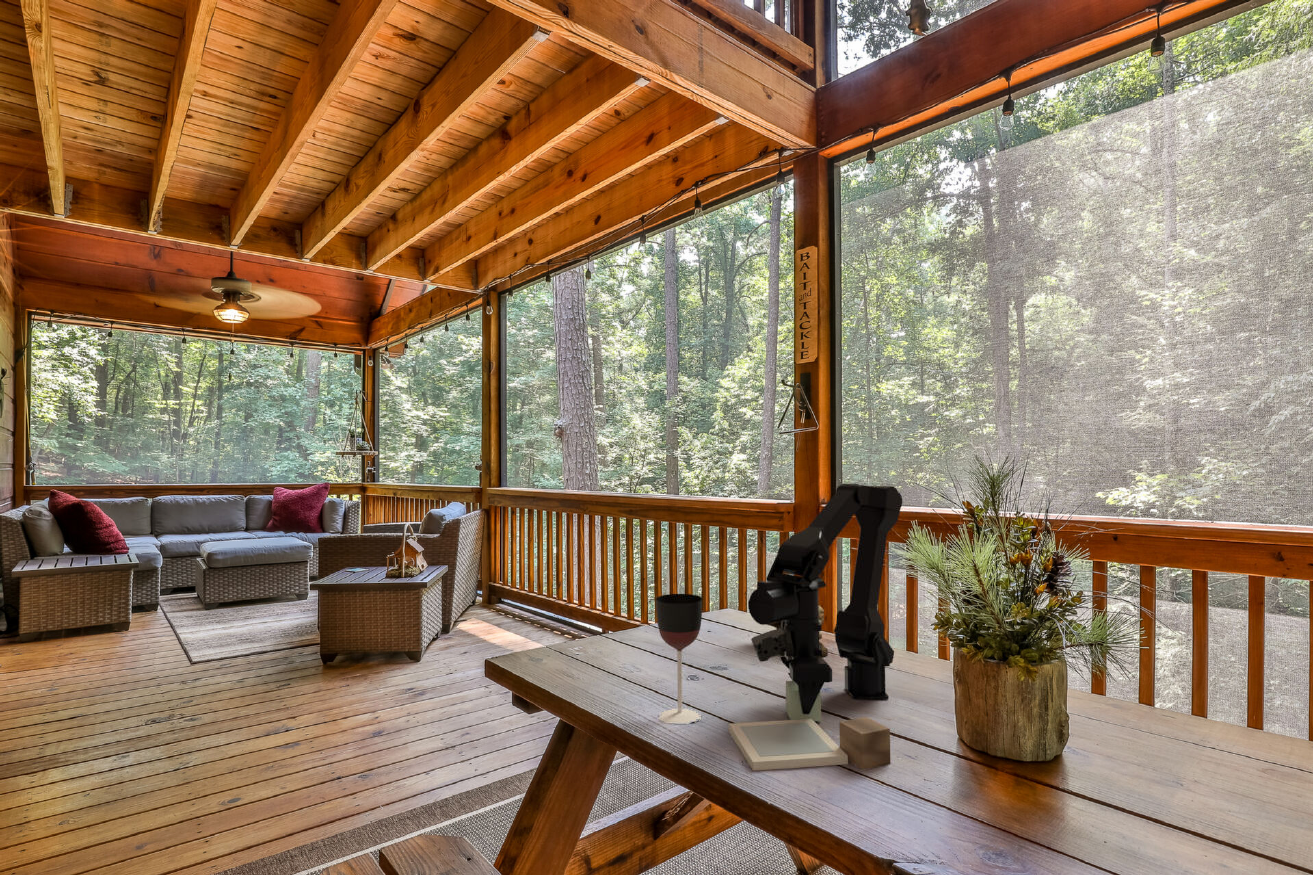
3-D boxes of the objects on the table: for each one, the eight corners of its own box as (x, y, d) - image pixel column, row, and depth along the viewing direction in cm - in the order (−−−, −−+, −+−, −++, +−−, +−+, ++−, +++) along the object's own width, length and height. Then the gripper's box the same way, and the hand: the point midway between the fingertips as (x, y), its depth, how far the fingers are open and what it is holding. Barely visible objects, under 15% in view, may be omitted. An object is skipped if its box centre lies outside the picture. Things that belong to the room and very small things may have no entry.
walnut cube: (866, 750, 100) (866, 716, 100) (890, 764, 95) (889, 728, 95) (839, 756, 98) (839, 721, 98) (862, 770, 93) (862, 734, 93)
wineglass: (707, 709, 117) (706, 595, 117) (697, 728, 108) (696, 604, 109) (664, 705, 119) (663, 592, 120) (650, 723, 110) (650, 602, 111)
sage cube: (814, 710, 115) (814, 681, 115) (821, 721, 110) (820, 691, 110) (786, 710, 115) (785, 681, 116) (790, 721, 110) (790, 690, 111)
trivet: (811, 726, 109) (811, 718, 109) (847, 764, 95) (847, 755, 95) (728, 731, 107) (728, 723, 107) (753, 770, 93) (753, 761, 93)
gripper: (748, 604, 123) (749, 689, 122) (761, 629, 104) (762, 729, 104) (809, 604, 123) (810, 689, 122) (832, 629, 104) (833, 730, 103)
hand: (803, 708), depth 113 cm, fingers closed on sage cube, 5 cm apart
